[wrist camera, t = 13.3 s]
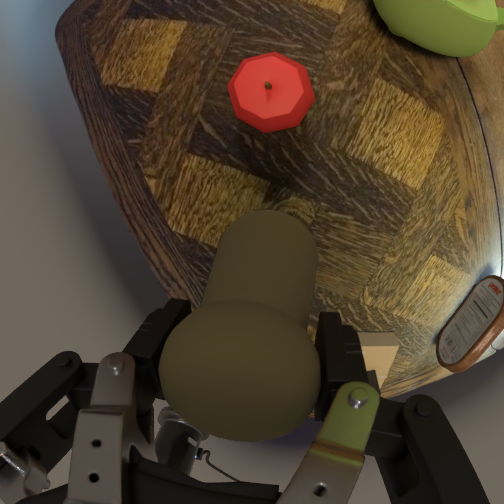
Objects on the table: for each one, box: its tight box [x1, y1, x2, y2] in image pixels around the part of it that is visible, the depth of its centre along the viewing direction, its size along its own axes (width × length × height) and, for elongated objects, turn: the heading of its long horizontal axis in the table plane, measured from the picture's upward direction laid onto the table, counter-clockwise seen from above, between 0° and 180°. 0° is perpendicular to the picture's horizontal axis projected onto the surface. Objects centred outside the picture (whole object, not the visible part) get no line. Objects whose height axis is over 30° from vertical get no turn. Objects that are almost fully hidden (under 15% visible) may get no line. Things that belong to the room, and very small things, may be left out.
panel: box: [357, 332, 399, 388], centre depth 35 cm, size 12×10×3 cm
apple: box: [227, 52, 316, 133], centre depth 21 cm, size 8×8×8 cm
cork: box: [158, 209, 321, 442], centre depth 12 cm, size 6×6×11 cm
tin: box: [436, 275, 504, 373], centre depth 27 cm, size 15×3×8 cm, turn 156°
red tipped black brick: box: [367, 370, 381, 396], centre depth 32 cm, size 6×2×5 cm, turn 104°
